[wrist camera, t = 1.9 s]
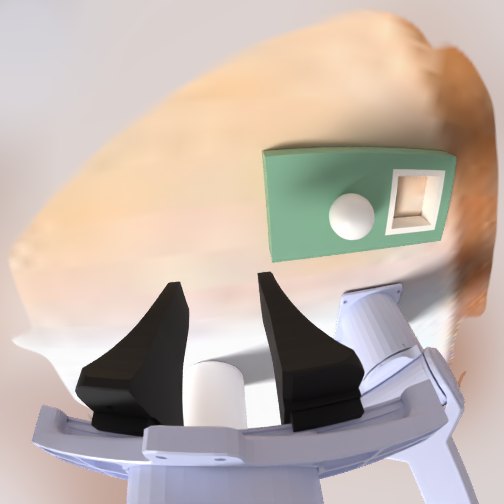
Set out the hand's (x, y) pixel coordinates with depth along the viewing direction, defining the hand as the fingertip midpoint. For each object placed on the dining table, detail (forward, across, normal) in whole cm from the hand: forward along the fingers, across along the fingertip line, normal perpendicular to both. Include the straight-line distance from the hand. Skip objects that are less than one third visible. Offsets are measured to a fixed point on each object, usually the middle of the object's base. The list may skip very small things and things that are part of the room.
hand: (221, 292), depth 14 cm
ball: (+7, -10, 0) cm, 12 cm away
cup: (+11, +7, +25) cm, 28 cm away
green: (+10, -12, 0) cm, 16 cm away
